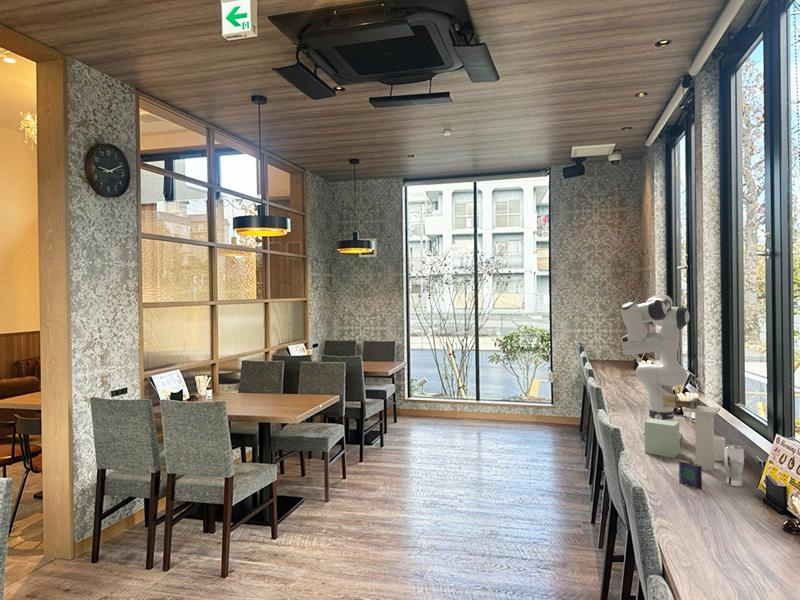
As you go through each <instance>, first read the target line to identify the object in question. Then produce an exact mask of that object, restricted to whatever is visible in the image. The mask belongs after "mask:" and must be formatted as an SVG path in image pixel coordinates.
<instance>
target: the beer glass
mask: <svg viewBox="0 0 800 600" xmlns="http://www.w3.org/2000/svg"><path fill="white" fill-rule="evenodd" d="M723 458H724V460H723V465H724V469H725V480H724V484H725V485H727V486H729V485H730V486H729V487H733V486H736V487H735V488H741V487H740V486H742V487H744V483H743V469H744V463H745V452H744V447H743V446H740V445H735V444H725V445H724V453H723Z"/></svg>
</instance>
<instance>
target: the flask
mask: <svg viewBox="0 0 800 600" xmlns="http://www.w3.org/2000/svg"><path fill="white" fill-rule="evenodd" d="M702 471H703V470H702V469H701V465H698V464H697V463H696V462H695V461H693V458H687V460H684V459H683V460H682V459H681V460H678V482H679V483H680V484H681V483H683V484H682V485H685V484H687V485H689V486H688V487H691V488H694V489H697V490H702V489H703V481H702V480H703V478H702V475H703V474H702ZM687 485H686V486H687Z"/></svg>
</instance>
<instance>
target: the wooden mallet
mask: <svg viewBox="0 0 800 600" xmlns="http://www.w3.org/2000/svg"><path fill="white" fill-rule="evenodd" d="M662 398H663V407H673V408H686V407H691V400H678V394H670V393H669V394H665V395H663V396H662ZM697 406H698V400H697V401H695V402H694V408H696V407H697Z"/></svg>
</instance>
